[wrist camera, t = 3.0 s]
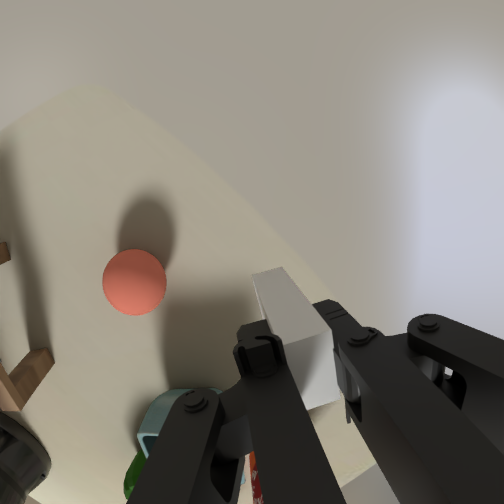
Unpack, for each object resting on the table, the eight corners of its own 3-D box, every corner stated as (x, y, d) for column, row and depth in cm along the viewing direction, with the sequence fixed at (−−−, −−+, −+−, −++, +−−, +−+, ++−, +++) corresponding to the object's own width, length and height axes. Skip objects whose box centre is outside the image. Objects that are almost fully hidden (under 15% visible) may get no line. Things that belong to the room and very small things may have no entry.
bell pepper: (185, 435, 32) (183, 499, 22) (196, 472, 33) (197, 528, 24) (121, 434, 31) (106, 493, 21) (138, 470, 32) (130, 524, 23)
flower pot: (164, 431, 31) (158, 487, 22) (149, 374, 29) (134, 433, 20) (237, 428, 32) (245, 485, 23) (232, 371, 30) (240, 430, 21)
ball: (125, 306, 27) (108, 332, 22) (105, 252, 26) (83, 268, 21) (178, 293, 28) (171, 318, 22) (159, 236, 26) (147, 249, 21)
